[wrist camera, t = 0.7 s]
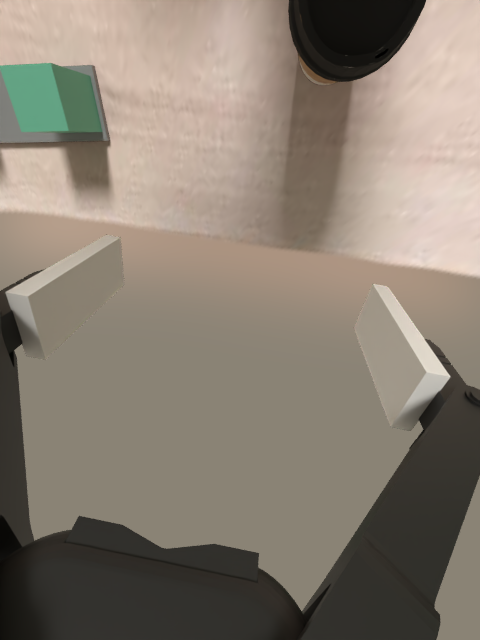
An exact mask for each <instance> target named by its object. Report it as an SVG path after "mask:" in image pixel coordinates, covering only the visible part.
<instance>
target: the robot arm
mask: <svg viewBox="0 0 480 640" xmlns="http://www.w3.org/2000/svg"><path fill="white" fill-rule="evenodd" d="M123 286H124V275H123V262H122V249H121V237H116V236H111V235H105V236H103V237H101V238H99V239H98V240H96V241H94V242H93V243H91V244H89V245H87V246H86V247H84V248H82V249H80V250H79V251H77V252H75V253H73V254H71V255H70V256H68V257H66V258H64V259H63V260H61V261H59V262H57V263H56V264H54V265H52V266H51V267H49V268H47V269H44V270H41V271H37V272H34V273H32V274H30V275H28V276H26V277H24V279H21V280H19V281H17V282H16V284H12V285H10V286H9V287H6V288H5V289H3V290H1V291H0V640H436V639H437V636H438V631H439V627H440V614H439V613H438V612H437V611H436V610H435V608H434V604H435V600H436V597H437V594H438V591H439V588H440V585H441V583H442V580H443V577H444V574H445V571H446V568H447V566H448V563H449V560H450V557H451V555H452V552H453V549H454V546H455V543H456V540H457V538H458V535H459V532H460V529H461V526H462V523H463V521H464V518H465V515H466V512H467V510H468V507H469V504H470V501H471V498H472V496H473V492H474V490H475V487H476V484H477V481H478V479H479V476H480V390H479V389H477V388H474V387H471V386H468V385H466V383H465V382H464V381H463V379H462V378H461V377H460V375H459V374H458V373H457V371H456V370H455V369H454V367H453V366H452V365H451V363H450V362H449V360H448V359H447V358H445V355H444V354H443V352H442V351H441V350H440V348H439V347H437V346H436V345H435V344H434V343H432V342H431V341H430V340H427V339H424V338H423V337H422V335H421V334H420V332H419V331H418V329H417V328H416V327H415V325H414V324H413V322H412V321H411V319H410V318H409V316H408V315H407V313H406V312H405V311H404V309H403V308H402V306H401V305H400V303H399V302H398V301H397V299H396V298H395V296H394V295H393V293H392V292H391V291H390V289H389V288H388V287H387V286H382V285H377V284H372V286H371V289H370V291H369V293H368V296H367V298H366V300H365V303H364V305H363V307H362V309H361V312H360V314H359V317H358V319H357V321H356V323H355V326H354V331H355V333H356V336H357V338H358V341H359V344H360V347H361V349H362V352H363V354H364V358H365V360H366V363H367V366H368V368H369V371H370V374H371V377H372V379H373V382H374V385H375V387H376V390H377V393H378V395H379V398H380V401H381V403H382V406H383V409H384V412H385V414H386V417H387V420H388V422H389V425H390V427H392V428H397V429H402V430H407V431H411V430H412V429H413V428H414V426H415V425H416V424H417V422H418V421H420V423H421V425H422V427H423V429H424V430H423V431H422V432H421V434H420V435H419V436H418V438H417V439H416V440H415V441H414V443H413V444H412V445H411V447H410V450H409V452H408V453H407V455H406V456H405V458H404V459H403V461H402V462H401V464H400V465H399V467H398V468H397V470H396V471H395V473H394V475H393V476H392V478H391V479H390V480H389V482H388V484H387V485H386V487H385V488H384V490H383V491H382V493H381V494H380V496H379V497H378V499H377V500H376V502H375V503H374V505H373V506H372V508H371V509H370V511H369V512H368V514H367V516H366V517H365V519H364V520H363V522H362V523H361V525H360V526H359V528H358V529H357V531H356V532H355V534H354V535H353V537H352V538H351V540H350V542H349V543H348V544H347V546H346V548H345V549H344V551H343V552H342V554H341V555H340V557H339V558H338V560H337V561H336V563H335V564H334V566H333V567H332V569H331V570H330V572H329V573H328V575H327V576H326V578H325V579H324V581H323V582H322V584H321V585H320V587H319V588H318V590H317V591H316V592H315V594H314V595H313V596H312V598H311V599H310V601H309V602H308V603H307V605H306V606H305V608H304V610H303V611H301V610H300V608H299V607H298V605H297V604H296V602H295V601H294V600H293V598H292V597H291V596H290V595H289V593H288V592H287V591H286V590H285V588H283V586H282V585H281V584H280V583H278V582H277V581H276V580H275V579H274V578H273V577H272V576H270V575H269V574H268V573H266V572H265V571H263V570H261V569H259V568H258V557H259V553H256V552H251V551H246V550H241V549H236V548H231V547H226V546H221V545H217V544H210V545H200V546H190V547H181V548H172V549H164V548H161V547H159V546H157V545H155V544H154V543H152V542H151V541H149V540H147V539H146V538H144V537H142V536H140V535H139V534H137V533H135V532H133V531H132V530H130V529H129V528H127V527H125V526H123V525H120V524H115V523H111V522H105V521H101V520H96V519H91V518H86V517H82V516H79V517H78V519H77V521H76V522H75V524H74V526H73V528H72V530H66V531H62V532H58V533H53V534H51V535H48V536H45V537H42V538H40V539H38V540H35V541H34V538H33V534H32V530H31V526H30V520H29V508H28V495H27V482H26V469H25V459H24V458H25V457H24V444H23V432H22V419H21V408H20V407H21V406H20V394H19V381H18V369H17V357H16V354H15V352H14V350H15V349H16V348H17V347H18V346H20V345H21V344H22V345H23V348H24V351H25V354H26V356H28V357H33V358H38V359H43V360H46V359H47V358H48V357H49V356H50V355H51V354H52V353H53V352H54V351H55V350H57V348H59V347H60V346H61V345H62V344H63V343H64V342H65V341H66V340H67V339H68V338H69V337H70V336H71V335H72V334H73V333H74V332H75V331H76V330H77V329H79V327H81V326H82V325H83V324H84V323H85V322H86V321H87V320H88V319H89V318H90V317H91V316H92V315H93V314H94V313H95V312H96V311H97V310H98V309H99V308H101V307H102V306H103V305H104V304H105V303H106V302H107V301H108V300H109V299H110V298H111V297H112V296H113V295H114V294H115V293H116V292H117V291H118V290H119V289H120V288H121V287H123Z"/></svg>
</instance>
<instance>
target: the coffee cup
mask: <svg viewBox="0 0 480 640" xmlns="http://www.w3.org/2000/svg"><path fill="white" fill-rule="evenodd" d="M425 2H426V0H289V10H288V12H289V23H290V30H291V34H292V38H293V42H294V45H295V47H296V49H297V52H298V56H299V62H300V66H301V68H302V70H303V73H304V74H305V75H306V77H307V78H308V79H309V80H310V81H312V82H313V83H315V84H318V85H330V84H334V83H336V82H348V81H353V80H357V79H360V78H363V77H365V76H367V75H369V74H371V73H373V72H375V71H376V70H378V69H379V68H380V67H382V66H383V65H384V64H386V63H387V62H388V61H389V60H390V59H391V58H392V57H393V56H394V55H395V54H396V53H397V52H398V51H399V49H400V48H401V47H402V45H403V44H404V42H405V41H406V40H407V38H408V37H409V35H410V33H411V31H412V29H413V27H414V26H415V24H416V22H417V20H418V18H419V16H420V14H421V12H422V10H423V8H424V5H425Z"/></svg>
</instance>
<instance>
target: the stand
mask: <svg viewBox="0 0 480 640" xmlns="http://www.w3.org/2000/svg"><path fill="white" fill-rule="evenodd" d="M72 141H110V138H109V133H108V128H107V124H106V119H105V114H104V109H103V105H102V100H101V95H100V90H99V86H98V81H97V76H96V71H95V67H94V66H93V65H82V66H62V67H61V66H58V65H55V64H52V63H42V64H23V65H4V66H0V143H22V142H72Z"/></svg>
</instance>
